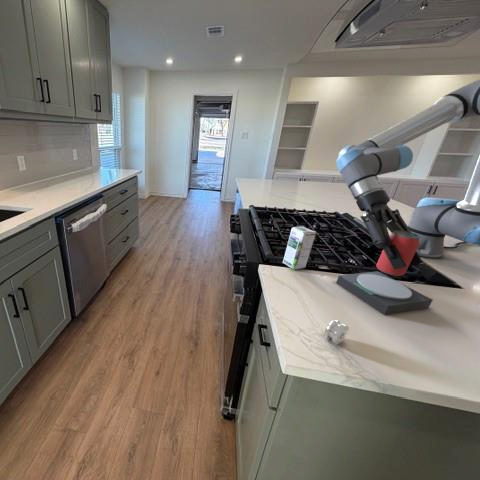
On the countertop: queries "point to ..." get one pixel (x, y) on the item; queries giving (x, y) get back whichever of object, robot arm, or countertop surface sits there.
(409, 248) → the beer can
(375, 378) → the countertop surface
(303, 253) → the syrup box
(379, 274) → the kitchen scale
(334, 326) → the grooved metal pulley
